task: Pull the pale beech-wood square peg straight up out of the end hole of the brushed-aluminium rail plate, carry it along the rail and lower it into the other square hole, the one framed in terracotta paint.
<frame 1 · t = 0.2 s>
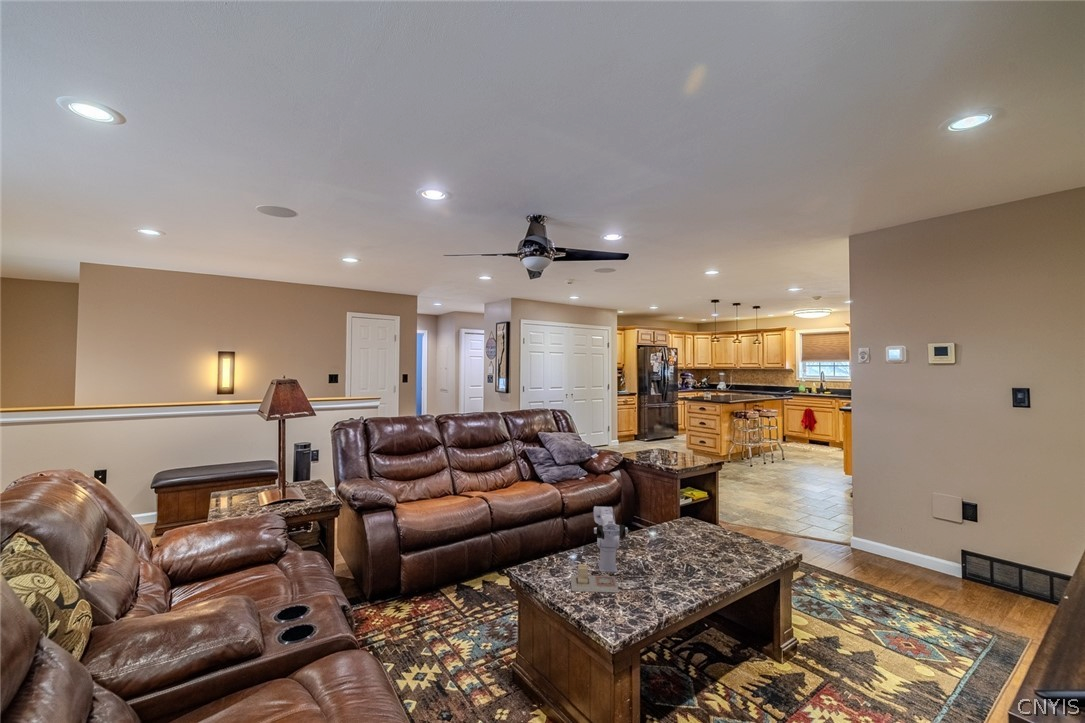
hand: (612, 536, 188), 21 cm above the table, tool horizontal, fingers open, 7 cm apart
peg: (582, 585, 189), resting in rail
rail: (593, 585, 189), on the table
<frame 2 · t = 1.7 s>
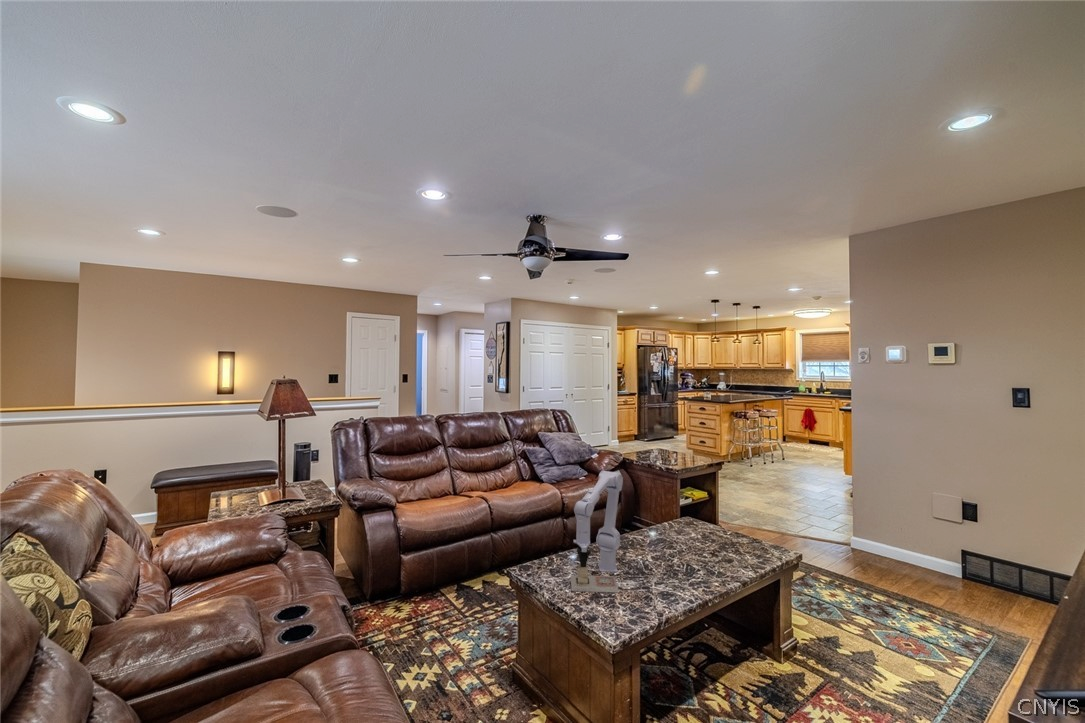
hand: (582, 562, 189), 10 cm above the table, tool pointing down, fingers open, 7 cm apart
nothing on the table moved.
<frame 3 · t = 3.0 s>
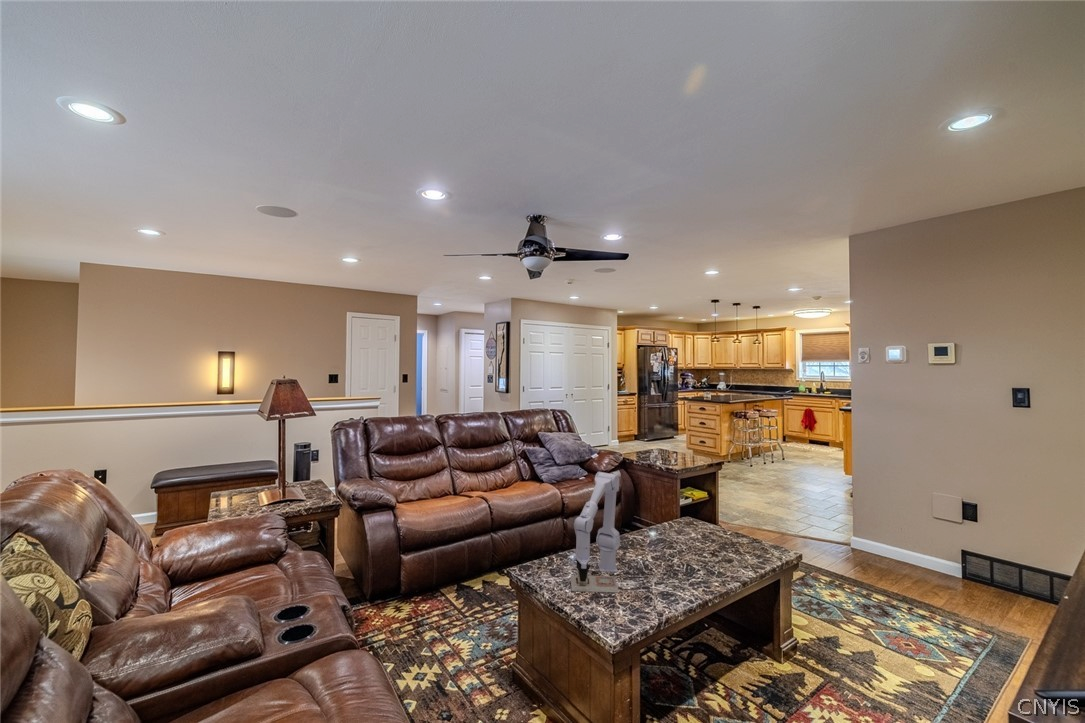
hand: (582, 578, 189), 3 cm above the table, tool pointing down, fingers closed on peg, 4 cm apart
peg: (582, 585, 189), resting in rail, touching gripper
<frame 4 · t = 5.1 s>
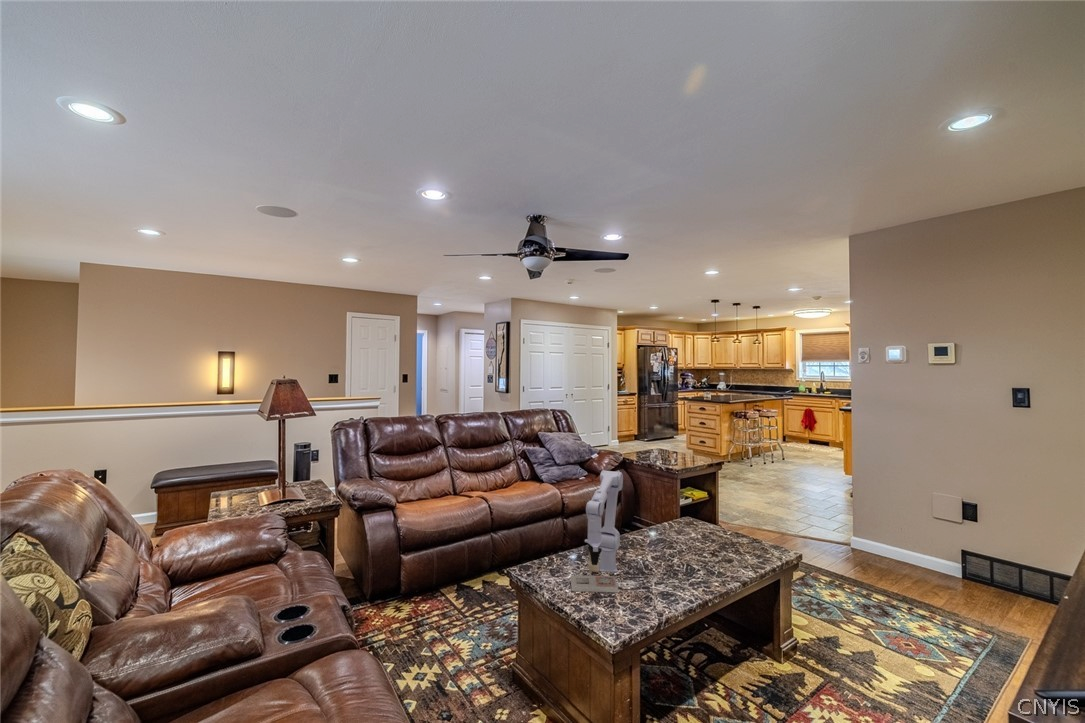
hand: (594, 562, 189), 10 cm above the table, tool pointing down, fingers closed on peg, 4 cm apart
peg: (593, 569, 189), point 7 cm above the table, touching gripper
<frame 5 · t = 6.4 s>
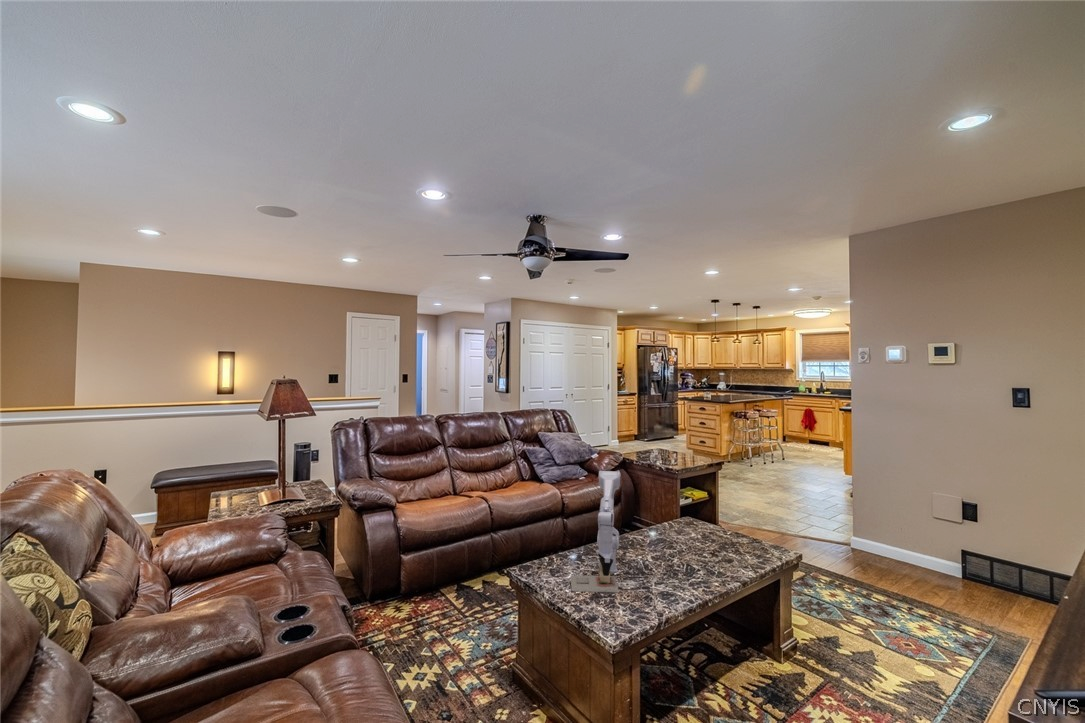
hand: (605, 573, 189), 6 cm above the table, tool pointing down, fingers closed on peg, 4 cm apart
peg: (604, 580, 189), point 3 cm above the table, touching gripper
when the fingers open (4 cm above the table, at t = 7.2 s): peg stays where it is, resting in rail.
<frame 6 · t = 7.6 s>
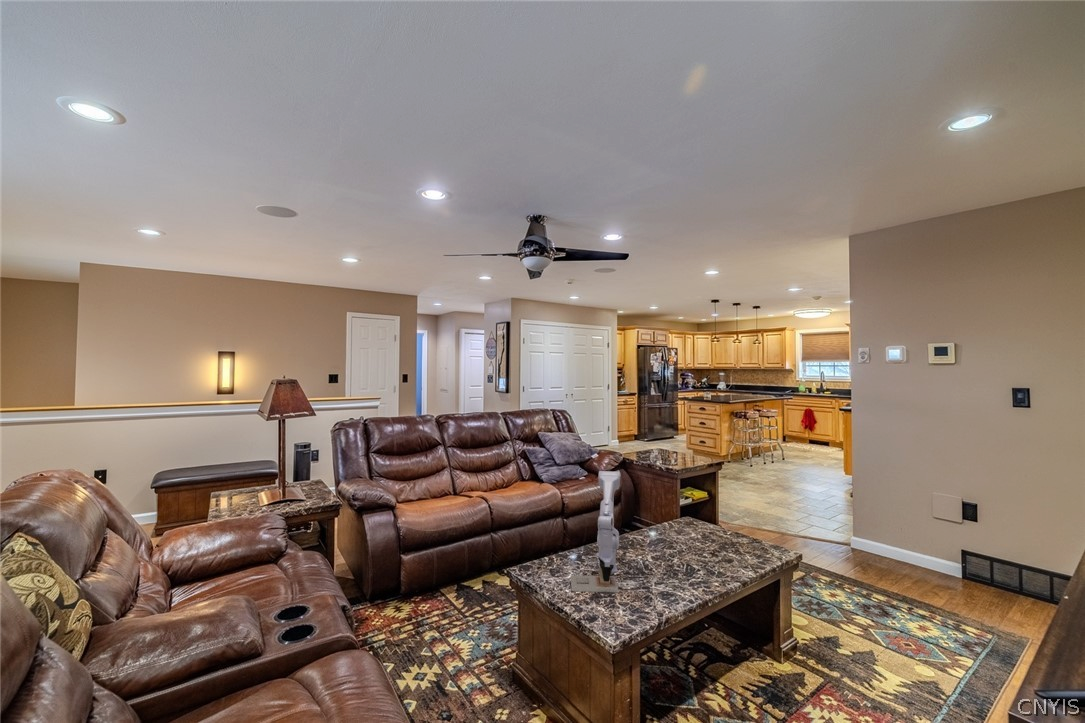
hand: (605, 576, 189), 4 cm above the table, tool pointing down, fingers open, 7 cm apart
peg: (604, 586, 189), resting in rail
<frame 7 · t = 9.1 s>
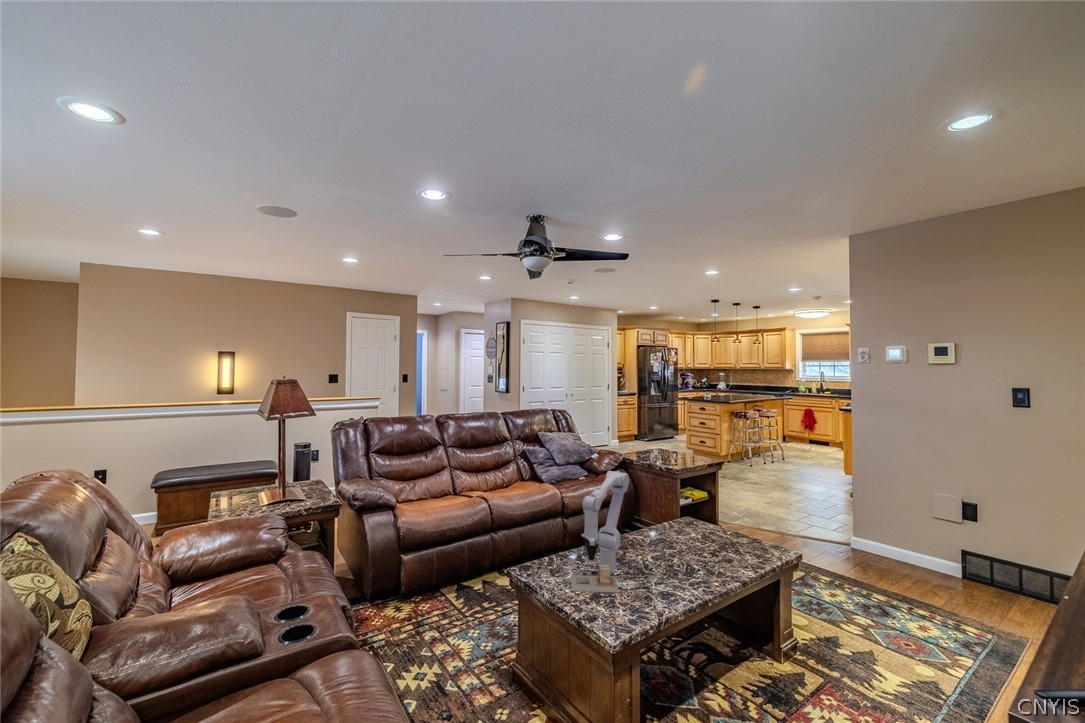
hand: (590, 556, 194), 10 cm above the table, tool pointing down, fingers open, 7 cm apart
nothing on the table moved.
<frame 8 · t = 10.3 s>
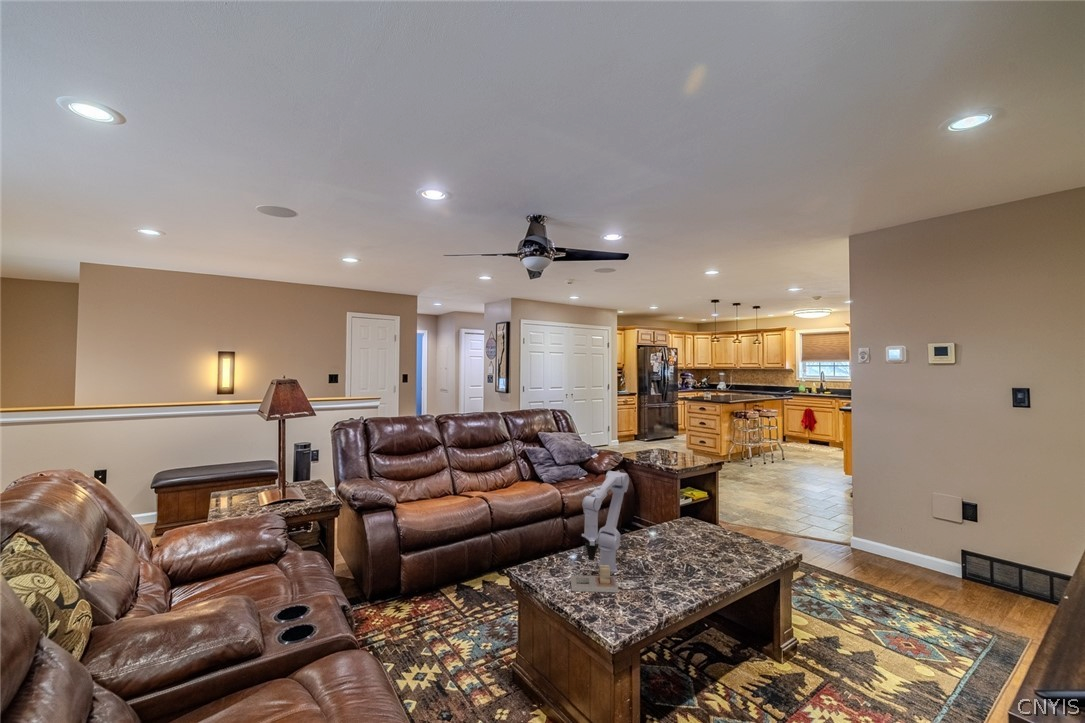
hand: (590, 556, 194), 10 cm above the table, tool pointing down, fingers open, 7 cm apart
nothing on the table moved.
at the end: peg 0.2 cm from the target spot on the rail, point 0.0 cm above the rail's base; peg tilted 0°; the gripper is holding nothing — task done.
